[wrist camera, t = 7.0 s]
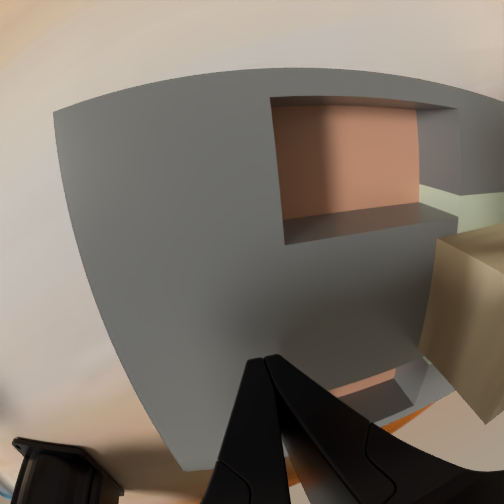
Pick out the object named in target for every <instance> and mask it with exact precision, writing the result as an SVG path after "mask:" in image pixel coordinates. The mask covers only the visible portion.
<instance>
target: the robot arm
mask: <svg viewBox="0 0 504 504" xmlns="http://www.w3.org/2000/svg"><path fill="white" fill-rule="evenodd" d="M282 441H283V443H284V446H285V448H286V450H287V453H288V455H289V457H290V459H291V462H292V464H293V466H294V468H295V471H296V473H297V475H298V477H299V480H300V482H301V484H302V486H303V488H304V491H305V493H306V495H307V497H308V499H309V501H310V503H311V504H504V470H502V471H490V472H483V471H473V470H469V469H465V468H462V467H459V466H457V465H454V464H452V463H449V462H447V461H444V460H442V459H440V458H437V457H435V456H433V455H431V454H428V453H426V452H424V451H422V450H419V449H417V448H415V447H413V446H411V445H409V444H407V443H405V442H403V441H402V440H400V439H398V438H396V437H395V436H393V435H391V434H390V433H388V432H387V431H385V430H383V429H382V428H380V427H379V426H377V425H376V424H374V423H373V422H371V423H370V420H368V419H367V418H365V417H364V416H362V415H361V414H360V413H358V412H357V411H355V410H354V409H352V408H351V407H350V406H348V405H347V404H345V403H344V402H342V401H341V400H340V399H338V398H337V397H336V396H334V395H333V394H331V393H330V392H329V391H327V390H326V389H325V388H323V387H322V386H320V385H319V384H318V383H316V382H315V381H314V380H312V379H311V378H310V377H308V376H307V375H306V374H304V373H303V372H302V371H300V370H299V369H298V368H296V367H295V366H294V365H293V364H291V363H290V362H289V361H287V360H286V359H285V358H283V357H282V356H281V355H279V354H273V355H268V356H265V357H264V358H262V357H258V358H253V359H248V360H247V362H246V365H245V368H244V372H243V375H242V378H241V382H240V385H239V389H238V392H237V395H236V399H235V402H234V405H233V409H232V412H231V415H230V419H229V422H228V425H227V428H226V432H225V435H224V438H223V441H222V445H221V448H220V451H219V454H218V457H217V460H218V461H216V463H215V466H214V469H213V472H212V475H211V478H210V481H209V483H208V486H207V489H206V491H205V494H204V496H203V498H202V500H201V502H200V504H291V501H290V493H289V486H288V479H287V472H286V464H285V457H284V450H283V443H282ZM12 445H13V446H14V447H15V448H16V449H17V450H18V451H19V452H20V453H21V454H22V455H23V456H24V459H23V462H22V465H21V468H20V472H19V475H18V478H17V482H16V485H15V489H14V492H13V496H12V500H11V504H118V502H119V496H124V490H123V489H122V488H121V487H120V486H119V485H118V484H117V483H116V482H115V481H114V480H113V479H112V478H110V477H109V476H108V475H107V474H106V473H105V472H104V471H103V470H102V469H101V468H100V467H99V466H98V465H97V464H96V463H95V461H94V460H93V459H92V458H91V457H90V456H89V455H88V454H87V453H86V452H85V451H83V450H81V449H78V448H70V447H62V446H54V445H47V444H41V443H35V442H30V441H25V440H20V439H13V442H12Z"/></svg>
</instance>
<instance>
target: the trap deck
mask: <svg viewBox="0 0 504 504" xmlns="http://www.w3.org/2000/svg"><path fill="white" fill-rule="evenodd" d="M53 117H54V128H55V137H56V145H57V152H58V159H59V165H60V171H61V177H62V182H63V187H64V192H65V197H66V202H67V206H68V211H69V215H70V219H71V223H72V227H73V231H74V235H75V239H76V242H77V246H78V249H79V253H80V256H81V260H82V263H83V266H84V269H85V272H86V276H87V279H88V282H89V284H90V287H91V290H92V293H93V296H94V299H95V301H96V304H97V307H98V310H99V312H100V315H101V317H102V320H103V322H104V325H105V327H106V330H107V332H108V335H109V337H110V339H111V342H112V344H113V346H114V348H115V351H116V353H117V355H118V357H119V359H120V362H121V364H122V366H123V368H124V370H125V372H126V374H127V376H128V378H129V380H130V382H131V384H132V386H133V388H134V390H135V392H136V394H137V396H138V398H139V400H140V401H141V403H142V405H143V407H144V409H145V410H146V412H147V414H148V416H149V418H150V419H151V421H152V423H153V424H154V426H155V428H156V429H157V431H158V433H159V434H160V436H161V438H162V439H163V441H164V442H165V444H166V446H167V447H168V449H169V450H170V452H171V453H172V455H173V456H174V458H175V459H176V461H177V462H178V464H179V465H180V467H181V468H182V470H183V471H184V472H187V471H200V470H211V469H214V466H215V463H216V461H218V460H217V457H218V454H219V451H220V448H221V445H222V441H223V438H224V435H225V432H226V428H227V425H228V422H229V419H230V415H231V412H232V409H233V405H234V402H235V399H236V395H237V392H238V389H239V385H240V382H241V378H242V375H243V372H244V368H245V365H246V362H247V360H248V359H253V358H258V357H262V358H264V357H265V356H268V355H273V354H279V355H281V356H282V357H283V358H285V359H286V360H287V361H289V362H290V363H291V364H293V365H294V366H295V367H296V368H298V369H299V370H300V371H302V372H303V373H304V374H306V375H307V376H308V377H310V378H311V379H312V380H314V381H315V382H316V383H318V384H319V385H320V386H322V387H323V388H325V389H326V390H327V391H329V392H330V393H331V394H333V395H334V396H336V397H337V398H338V399H340V400H341V401H342V402H344V403H345V404H347V405H348V406H350V407H351V408H352V409H354V410H355V411H357V412H358V413H360V414H361V415H362V416H364V417H365V418H367V419H368V420H370V423H371V422H373V423H374V424H376V425H377V426H379V427H382V426H384V425H387V424H389V423H391V422H394V421H396V420H398V419H401V418H403V417H405V416H407V415H409V414H411V413H414V412H416V411H418V410H420V409H422V408H424V407H426V406H428V405H430V404H432V403H434V402H435V401H437V400H439V399H441V398H443V397H445V396H447V395H448V394H450V393H452V392H453V391H455V389H454V388H453V386H452V385H451V384H450V383H449V382H448V381H447V380H446V379H445V377H444V376H443V375H442V374H441V373H440V372H439V371H438V370H437V369H436V368H435V366H434V365H433V364H432V363H431V362H430V361H429V360H428V359H427V358H426V357H425V356H424V355H423V354H422V352H421V351H420V350H419V349H418V346H419V341H420V337H421V333H422V329H423V324H424V320H425V315H426V310H427V305H428V299H429V294H430V288H431V281H432V275H433V268H434V260H435V251H436V241H437V238H440V237H444V236H449V235H453V234H458V233H462V232H467V231H471V230H475V229H480V228H484V227H488V226H493V225H497V224H501V223H504V102H502V101H499V100H496V99H493V98H490V97H487V96H484V95H481V94H478V93H474V92H471V91H467V90H464V89H460V88H456V87H452V86H448V85H444V84H440V83H435V82H431V81H426V80H421V79H415V78H410V77H404V76H398V75H391V74H384V73H376V72H367V71H356V70H344V69H326V68H267V69H249V70H236V71H226V72H216V73H208V74H201V75H194V76H187V77H181V78H175V79H170V80H164V81H159V82H154V83H150V84H145V85H141V86H136V87H132V88H128V89H124V90H120V91H117V92H113V93H109V94H106V95H102V96H99V97H96V98H93V99H89V100H86V101H83V102H80V103H77V104H74V105H71V106H69V107H66V108H63V109H60V110H58V111H55V112H53ZM282 443H283V441H282ZM283 450H284V457H288V456H289V455H288V453H287V450H286V448H285V446H284V443H283Z"/></svg>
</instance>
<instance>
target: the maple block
mask: <svg viewBox="0 0 504 504" xmlns="http://www.w3.org/2000/svg"><path fill="white" fill-rule="evenodd" d="M418 349H419V350H420V351H421V352H422V354H423V355H424V356H425V357H426V358H427V359H428V360H429V361H430V362H431V363H432V364H433V365H434V366H435V368H436V369H437V370H438V371H439V372H440V373H441V374H442V375H443V376H444V377H445V379H446V380H447V381H448V382H449V383H450V384H451V385H452V386H453V388H454V389H455V390H456V391H457V392H458V393H459V394H460V395H461V397H462V398H463V399H464V400H465V401H466V402H467V403H468V405H469V406H470V407H471V408H472V409H473V410H474V412H475V413H476V414H477V415H478V416H479V417H480V419H481V420H482V421H483V422H484V423H485V425H486V424H487V423H488V422H490V421H491V420H492V419H493V418H495V417H496V416H497V415H498V414H500V413H501V412H502V411H503V410H504V223H501V224H497V225H493V226H488V227H484V228H480V229H475V230H471V231H467V232H462V233H458V234H453V235H449V236H444V237H440V238H437V241H436V251H435V260H434V268H433V275H432V281H431V288H430V294H429V299H428V305H427V310H426V315H425V320H424V324H423V329H422V333H421V337H420V341H419V346H418Z"/></svg>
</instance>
